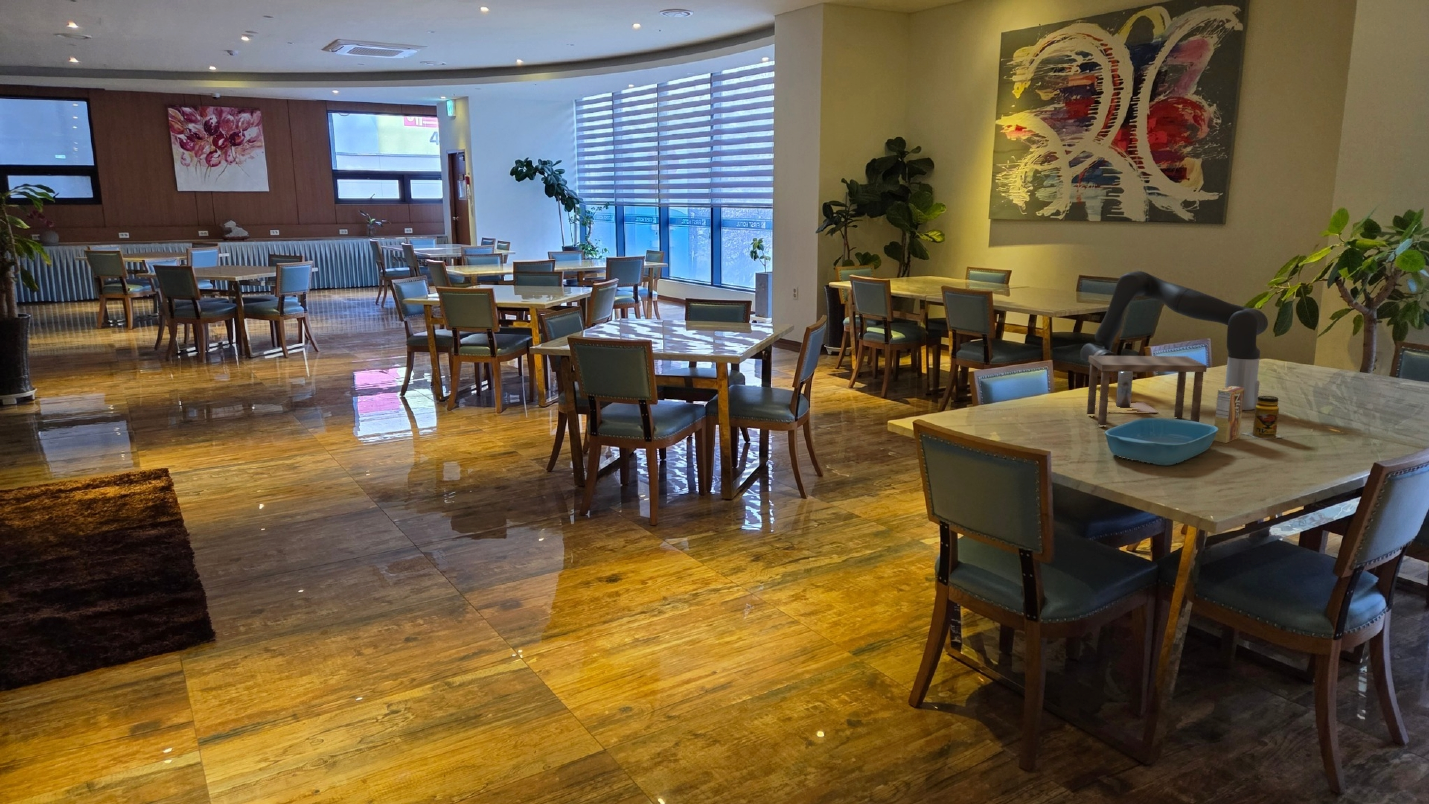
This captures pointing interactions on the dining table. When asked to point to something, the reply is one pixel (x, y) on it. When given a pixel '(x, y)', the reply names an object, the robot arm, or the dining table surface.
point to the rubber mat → (1142, 407)
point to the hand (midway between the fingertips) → (1117, 367)
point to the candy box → (1228, 413)
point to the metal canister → (1124, 389)
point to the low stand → (1145, 365)
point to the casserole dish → (1160, 440)
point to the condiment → (1265, 418)
